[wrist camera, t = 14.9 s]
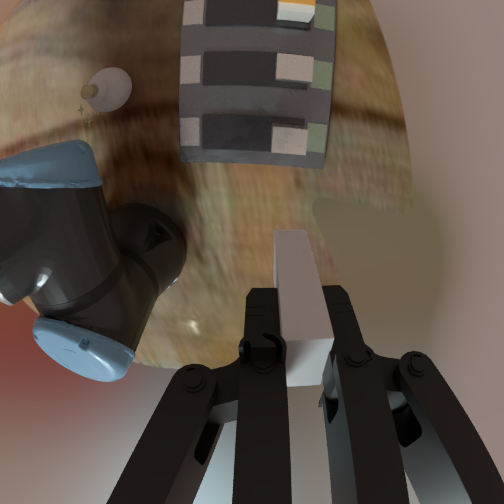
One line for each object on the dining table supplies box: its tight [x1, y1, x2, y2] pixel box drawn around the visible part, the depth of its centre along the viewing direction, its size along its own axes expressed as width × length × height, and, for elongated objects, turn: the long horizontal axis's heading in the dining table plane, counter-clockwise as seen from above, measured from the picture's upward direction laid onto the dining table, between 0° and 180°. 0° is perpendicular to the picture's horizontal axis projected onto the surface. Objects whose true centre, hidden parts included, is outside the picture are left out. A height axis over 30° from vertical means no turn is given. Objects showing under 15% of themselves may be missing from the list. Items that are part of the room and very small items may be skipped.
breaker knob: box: [277, 0, 315, 23], centre depth 19 cm, size 4×3×4 cm
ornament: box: [78, 67, 132, 128], centre depth 25 cm, size 6×7×10 cm
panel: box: [179, 0, 336, 170], centre depth 25 cm, size 18×24×6 cm
